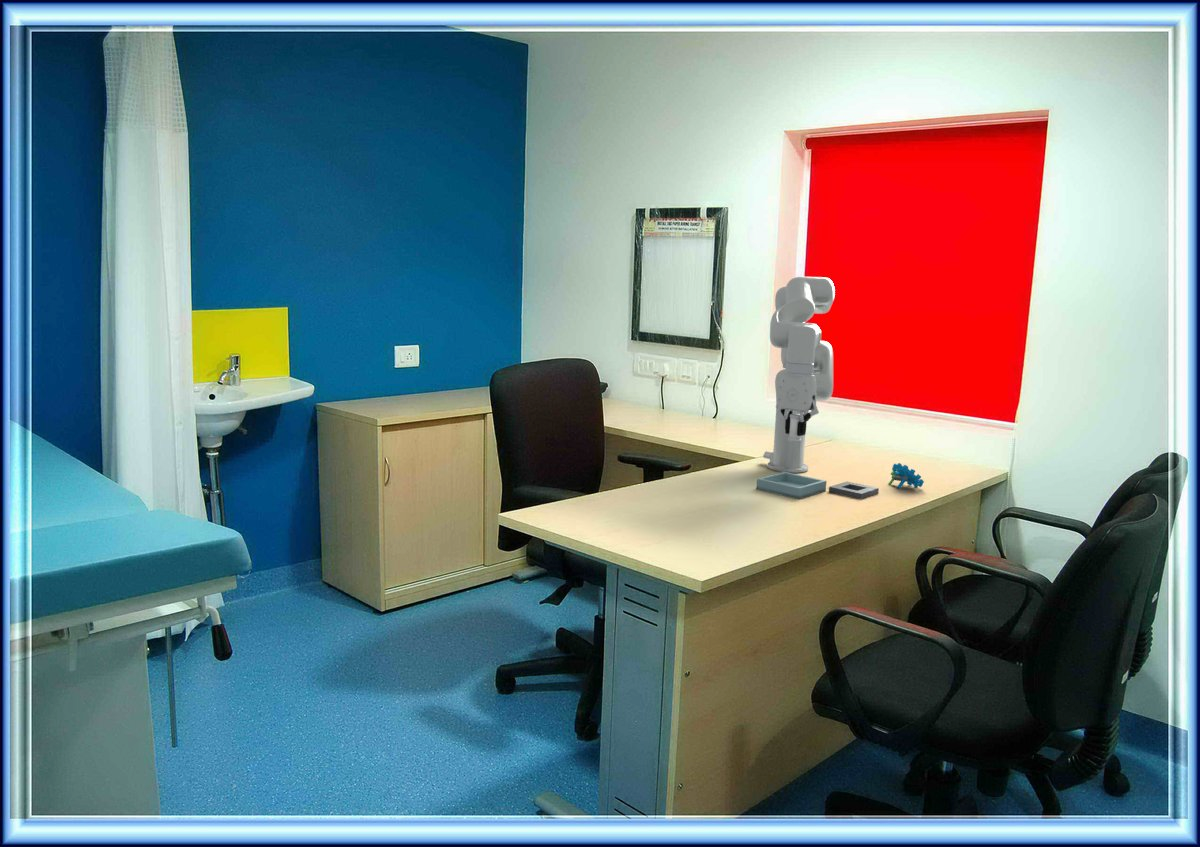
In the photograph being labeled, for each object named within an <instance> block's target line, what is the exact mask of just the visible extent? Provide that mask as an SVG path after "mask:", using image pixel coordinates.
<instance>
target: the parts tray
mask: <svg viewBox="0 0 1200 847" xmlns="http://www.w3.org/2000/svg"><path fill="white" fill-rule="evenodd" d="M755 489H756V490H757V491H758V490H759V491H764V492H767V493H771V494H776V495H779V496H784V497H788V498H792V499H796V500H800V499H804V498H807V497H811V496H814V495H818V494H821V493H825V492H827V480H824V479H819V478H815V477H814V478H813V477H809V476H805V475H801V474H798V473H789V472H778V473H775V474H771V475H767V476H763V477H760V478H756V488H755ZM817 493H818V494H817Z"/></svg>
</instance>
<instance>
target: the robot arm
mask: <svg viewBox="0 0 1200 847" xmlns="http://www.w3.org/2000/svg"><path fill="white" fill-rule="evenodd" d="M835 291H836V289H835V286H834V283H833V281H832V280H831V279H830V278H829V277H822V276H796V277H794V278H791V279H790V280H789V281H788V282H787V284H786V286H783V287H780V288H779V289H778V290H777V291H776V292H775V293H776V294H775V299H774V302H775V303H774V306H775V311H774V313H773V315H772V316H771V319H770V323H769V325H770V326H769V341H770V343H771V345H772V346H773V347H775V348H778V349H780V359H781V360H780V361H781V364H782V368H783V369H782V370H780V371H778V372H777V373H776V374H775V379H774V380H775V381H774V384H775V386H774V387H775V399H776V401H775V423H774V439H773V451H772V452H771V451H768V450H767V451H765V452H764V453H763V456H762V457H763V459H769V462H767V465H766V466H767V468H768V469H770V470H772V471H776V472H779V473H782V472H787V473H792V474H798V473H804V472H807V471H808V470H809V466H808V464H805V463H804V462H805V461H804V459H805V446H806V434H807V433H806V432H807V422H808V421H809V420H810V419H812V417H815V416H817V415H818V414H819V409H818V407H817V402H820V401H822V402H824V401H828V400H829V399H830V398H831V397H832V395H833V392H834V351H833V347H832V345H831V344H830V343H829V342H828V341H825V340H822V330H821V329H820V327H819V326H818V325H817V323H811V322H808V321H809V320H810V319H811V318H813V316H814V314H819V315H820V314H821V315H822V314H826V313H828V312H830V310H831V307H832V305H833V302H834V300H835V295H836V294H835V293H836V292H835ZM792 413H796V414H800V422H798V427H797V435H798V436H801V442H791V441H788V437H789V429H790V414H792Z"/></svg>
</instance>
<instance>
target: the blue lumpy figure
mask: <svg viewBox="0 0 1200 847" xmlns="http://www.w3.org/2000/svg"><path fill="white" fill-rule="evenodd" d="M891 470H892V471H891V473H890V475H891V480H890V481H889V482H888V485H889V486H891V485H892V484H893V482H894V481H898V482H899V483H898V485H897V486H896V488H897V489H899V490H900V489H901V488H902V487H903V486H904V484H905V482H906V483H907V485H908V486H913V487H914V488H919V487H920V488H921V487H922V486H923V484H924V483H925V481H924V480H923V479H921V478H922V476H921V475H920V474H919V473H918V474H915V473H916V470H915V469H913V468H911V469H909V466H908V465H906V464H903V465H902V463H900V462H898V463H894V464H892V468H891Z"/></svg>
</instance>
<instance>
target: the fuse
mask: <svg viewBox="0 0 1200 847" xmlns="http://www.w3.org/2000/svg"><path fill="white" fill-rule="evenodd" d="M798 422H800V414H796V413H792V414H790V429H789V437H788V441H791V442H801V436H798V435H797V427H798Z"/></svg>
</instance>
